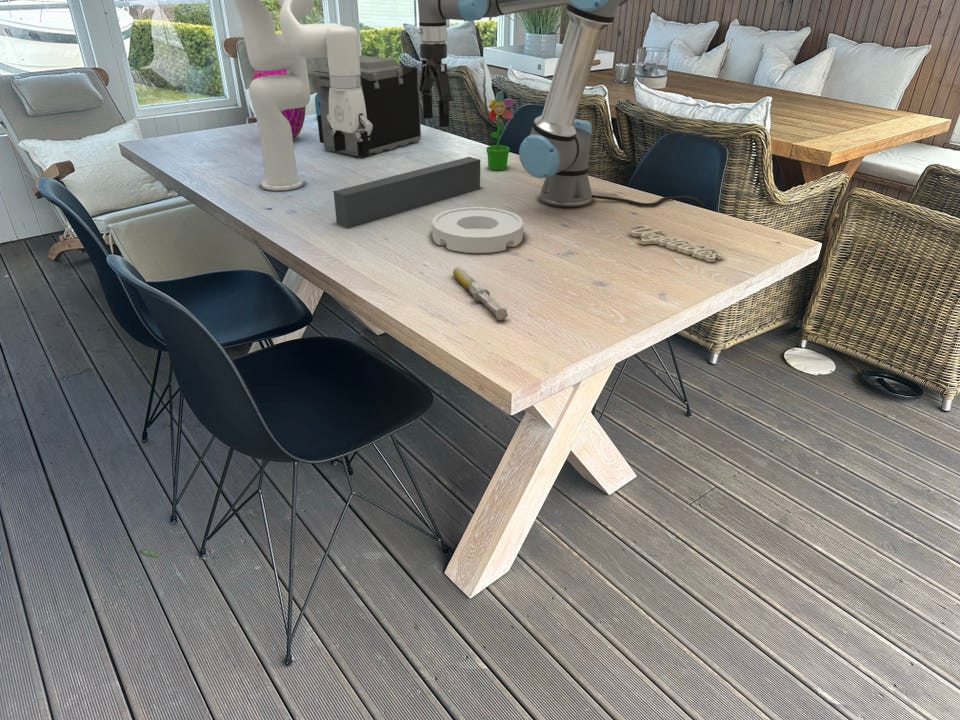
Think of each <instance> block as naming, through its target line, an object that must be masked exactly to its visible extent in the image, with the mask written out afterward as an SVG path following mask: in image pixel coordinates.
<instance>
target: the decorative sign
mask: <svg viewBox="0 0 960 720" xmlns="http://www.w3.org/2000/svg"><path fill="white" fill-rule="evenodd" d="M650 229H651V227H650V226H648V225H644V224H637V225H636V229H632V230H631V231H630V236H631V237H634V238H640V245H643V246H644V245H646V246H647V245H658V246H660V247H666V248H667V249H669V250H671V251H677V252H678V253H682V254H685V255H691V256H692V257H693V258H697V259H699V260H704V261H705V262H709V263H714V262H716V260H719V261H720V260H721V259H722V254H721V253H718V252H715V250H716V249H715V248H714V247H705V245H706V244H700V243H699V244H690V243H689V241H688V240H686V239H682V238H681V239H680V238H677V237H673V238H671V237H667V236H663V235H662V234H663V230H662V229H652V230H650Z"/></svg>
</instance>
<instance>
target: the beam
mask: <svg viewBox="0 0 960 720" xmlns="http://www.w3.org/2000/svg"><path fill="white" fill-rule="evenodd" d="M478 189H481V159H480V158H475V157H472V156H466V157H461V158H459V159H455V160H451V161H447V162H443V163H439V164H435V165H431V166H427V167H423V168H420V169H415V170H412V171H409V172H404V173H399V174H396V175H392V176H388V177H384V178H380V179H376V180H373V181H372V180H371V181H368V182H365V183H360V184H357V185H352V186H347V187H345V188H341V189H337V190H333V201H334V211H335V221H336V224H337V225H339V226H342V227H344V228H347V229H349V228H352V227H356V226H359V225H362V224H366V223H369V222H373V221H375V220H378V219H382V218H385V217H388V216H392V215H396V214H400V213H402V212H406V211H409V210H411V209H415V208H419V207H422V206H426V205H429V204H432V203H435V202H439V201H441V200H445V199H449V198H451V197H455V196H458V195H461V194H466V193H469V192H472V191H475V190H478Z"/></svg>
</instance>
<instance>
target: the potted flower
mask: <svg viewBox="0 0 960 720" xmlns="http://www.w3.org/2000/svg"><path fill="white" fill-rule="evenodd" d="M504 97H505V94H504V91H503V90H500V91H499V92H498V93H496V95H495V98H494V99H491V100H490V101H489V104H488V108H489V109H490V111H489V113H488V116H489V120H490V121H491V122H493V121H495V120H496V118H497V131H494V132H492V133H490V136H491V138H493V139H496V145H495V144H494V145H488V146H486V153H487V155H486V156H487V166H488V169H490V170H492V171H503V170H506V169H507V168H508V159H509V154H510V147H509V146H506V145H501V144H500V132H502V131H504V129H505V126H503V125H500V123H501V122H500V121H501V119H500V118H501V117H502V118H503V119H505V120H511V119H514V118H515V117H514V115H513V113H512V112H511V111H510V110H509V109H508V108H510V107H512V106H514V105H516V104H517V102H516V101H515V100H514V99H513V98H505V99H504Z"/></svg>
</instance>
